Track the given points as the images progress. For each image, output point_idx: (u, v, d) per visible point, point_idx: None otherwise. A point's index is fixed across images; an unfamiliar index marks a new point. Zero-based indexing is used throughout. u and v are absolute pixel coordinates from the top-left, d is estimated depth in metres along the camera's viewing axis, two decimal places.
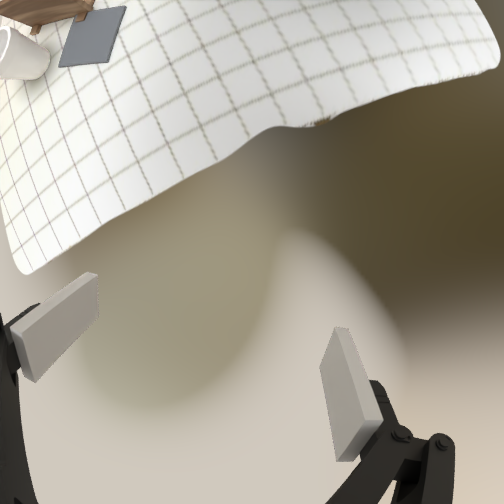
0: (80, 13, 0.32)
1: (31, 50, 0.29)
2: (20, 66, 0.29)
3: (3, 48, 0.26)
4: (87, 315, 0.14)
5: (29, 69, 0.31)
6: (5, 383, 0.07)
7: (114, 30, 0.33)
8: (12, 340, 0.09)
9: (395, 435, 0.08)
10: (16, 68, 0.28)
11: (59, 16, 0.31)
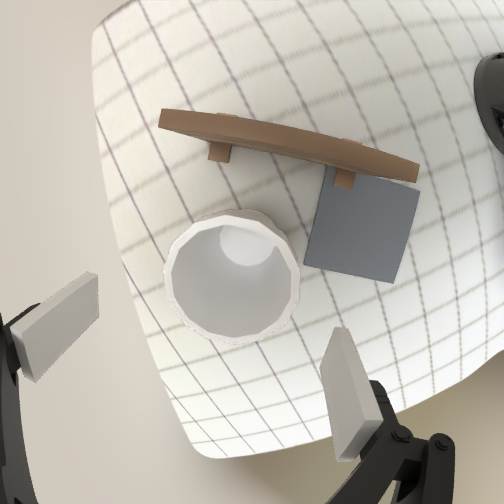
0: (343, 171, 0.28)
1: None
2: None
3: (205, 232, 0.23)
4: (87, 315, 0.14)
5: None
6: (5, 383, 0.07)
7: (406, 234, 0.30)
8: (12, 340, 0.09)
9: (395, 435, 0.08)
10: None
11: (294, 156, 0.28)
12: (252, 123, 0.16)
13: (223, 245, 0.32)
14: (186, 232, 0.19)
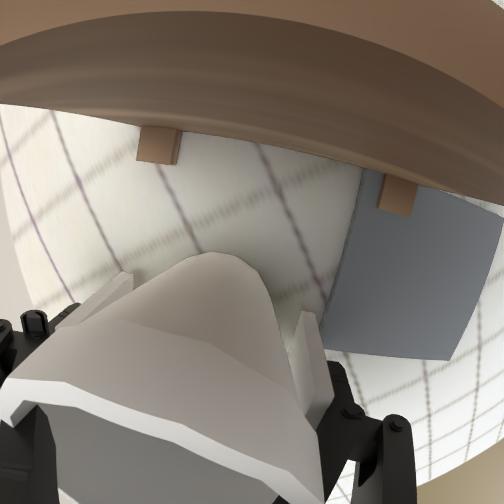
0: (397, 180, 0.14)
1: None
2: None
3: None
4: None
5: None
6: None
7: (479, 288, 0.16)
8: None
9: (345, 412, 0.09)
10: None
11: (304, 150, 0.13)
12: None
13: None
14: (4, 391, 0.04)
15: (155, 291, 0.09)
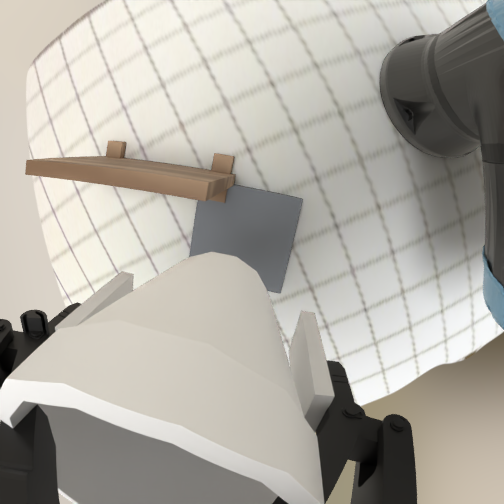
0: None
1: None
2: None
3: None
4: None
5: None
6: None
7: (289, 244, 0.33)
8: None
9: (346, 412, 0.09)
10: None
11: None
12: (73, 166, 0.18)
13: None
14: (3, 392, 0.04)
15: (155, 292, 0.09)
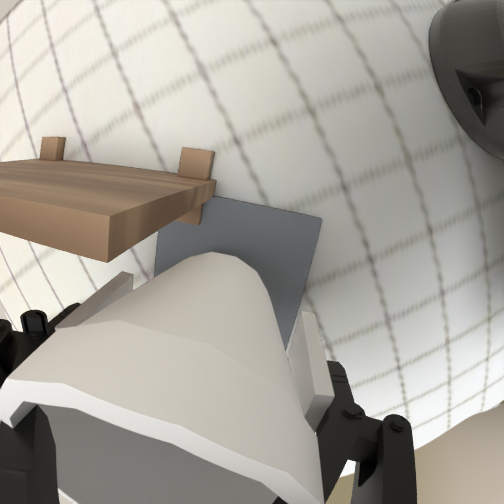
0: None
1: None
2: None
3: None
4: None
5: None
6: None
7: (300, 288, 0.21)
8: None
9: (345, 412, 0.09)
10: None
11: None
12: None
13: None
14: (3, 393, 0.04)
15: (154, 292, 0.09)
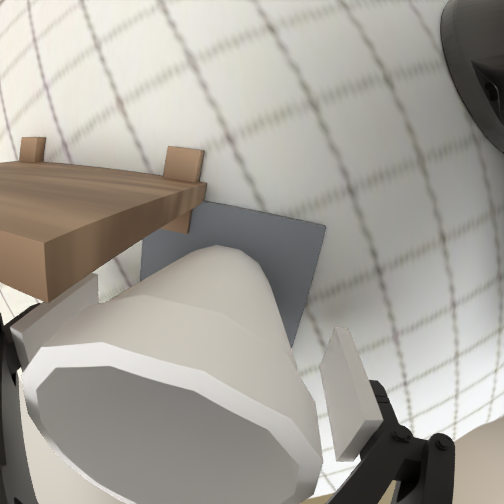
0: None
1: None
2: None
3: None
4: None
5: None
6: (5, 383, 0.07)
7: (301, 303, 0.19)
8: (12, 340, 0.09)
9: (395, 435, 0.08)
10: None
11: None
12: None
13: None
14: (35, 363, 0.06)
15: (170, 276, 0.11)
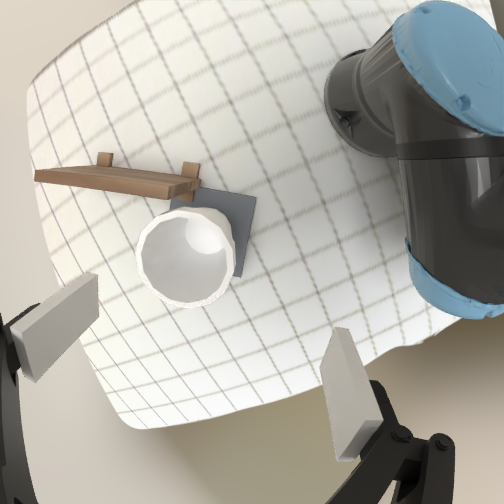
0: None
1: None
2: None
3: (168, 224, 0.30)
4: (87, 315, 0.14)
5: None
6: (5, 383, 0.07)
7: (246, 235, 0.39)
8: (12, 340, 0.09)
9: (395, 435, 0.08)
10: None
11: None
12: (72, 176, 0.24)
13: (187, 237, 0.39)
14: (151, 223, 0.26)
15: None
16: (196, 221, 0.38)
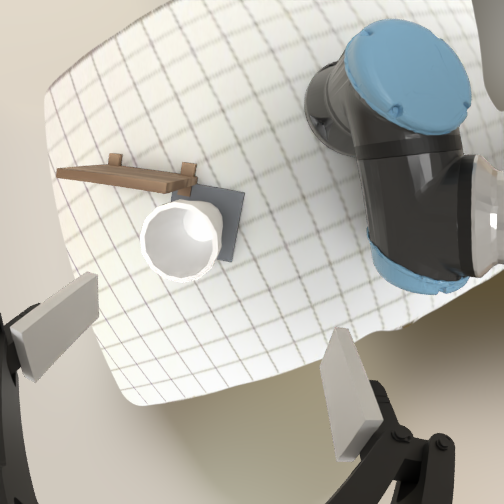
0: None
1: None
2: None
3: (167, 214, 0.36)
4: (87, 315, 0.14)
5: None
6: (5, 383, 0.07)
7: (236, 225, 0.45)
8: (12, 340, 0.09)
9: (395, 435, 0.08)
10: None
11: None
12: (89, 173, 0.31)
13: (185, 227, 0.45)
14: (152, 212, 0.32)
15: None
16: (193, 213, 0.44)
